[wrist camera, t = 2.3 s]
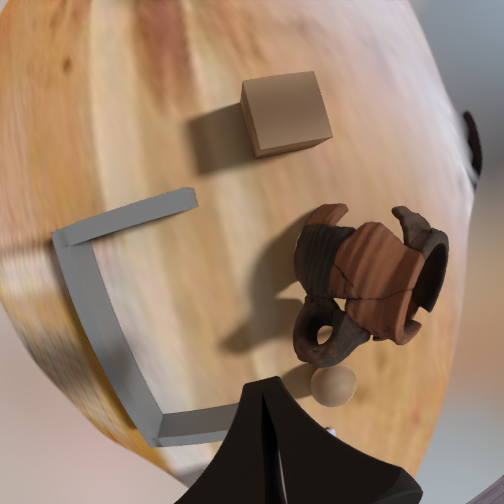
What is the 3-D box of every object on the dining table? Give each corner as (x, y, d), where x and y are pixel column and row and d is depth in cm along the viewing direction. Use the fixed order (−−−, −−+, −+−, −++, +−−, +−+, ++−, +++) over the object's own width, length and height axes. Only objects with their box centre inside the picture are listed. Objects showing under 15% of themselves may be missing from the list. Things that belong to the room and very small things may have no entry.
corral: (258, 409, 22) (262, 433, 19) (156, 424, 22) (150, 447, 19) (194, 188, 18) (187, 187, 15) (72, 226, 18) (50, 232, 15)
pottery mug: (338, 163, 19) (449, 182, 13) (376, 243, 25) (456, 273, 18) (227, 304, 17) (328, 387, 11) (297, 354, 23) (374, 410, 17)
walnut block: (312, 147, 18) (333, 136, 14) (254, 158, 18) (260, 149, 14) (298, 92, 17) (313, 71, 13) (240, 102, 17) (242, 80, 13)
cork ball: (348, 381, 22) (364, 406, 19) (308, 393, 22) (319, 421, 18) (345, 348, 21) (363, 372, 18) (302, 361, 21) (314, 388, 18)
